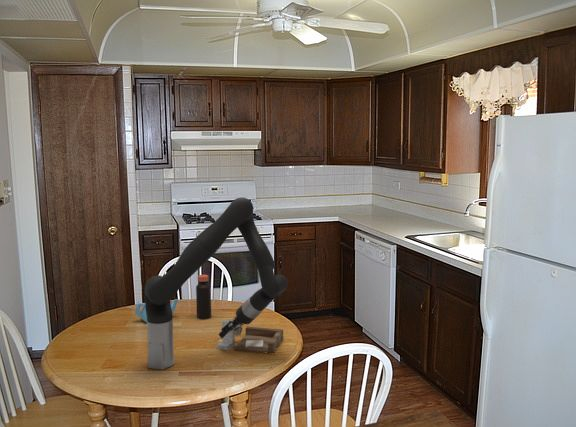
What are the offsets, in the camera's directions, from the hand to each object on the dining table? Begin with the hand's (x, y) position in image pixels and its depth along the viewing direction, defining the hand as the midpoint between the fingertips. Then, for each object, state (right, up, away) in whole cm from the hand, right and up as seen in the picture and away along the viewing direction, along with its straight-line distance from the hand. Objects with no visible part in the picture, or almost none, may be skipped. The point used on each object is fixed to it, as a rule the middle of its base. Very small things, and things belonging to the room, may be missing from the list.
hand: (226, 332), depth 212 cm
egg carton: (+1, -3, +16) cm, 16 cm away
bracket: (0, -5, -1) cm, 6 cm away
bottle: (-15, -1, +34) cm, 37 cm away
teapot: (-36, -1, +31) cm, 47 cm away
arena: (+13, -5, +1) cm, 14 cm away
